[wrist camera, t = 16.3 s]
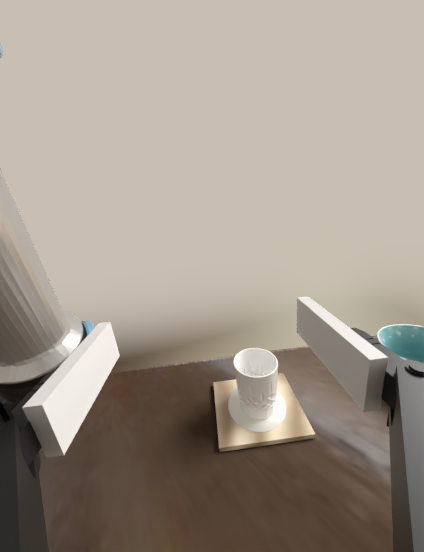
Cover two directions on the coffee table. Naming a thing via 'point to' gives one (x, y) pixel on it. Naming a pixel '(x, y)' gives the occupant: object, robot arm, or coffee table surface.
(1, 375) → the robot arm
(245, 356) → the white cup
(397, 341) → the bowl
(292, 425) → the coaster board
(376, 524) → the coffee table surface
